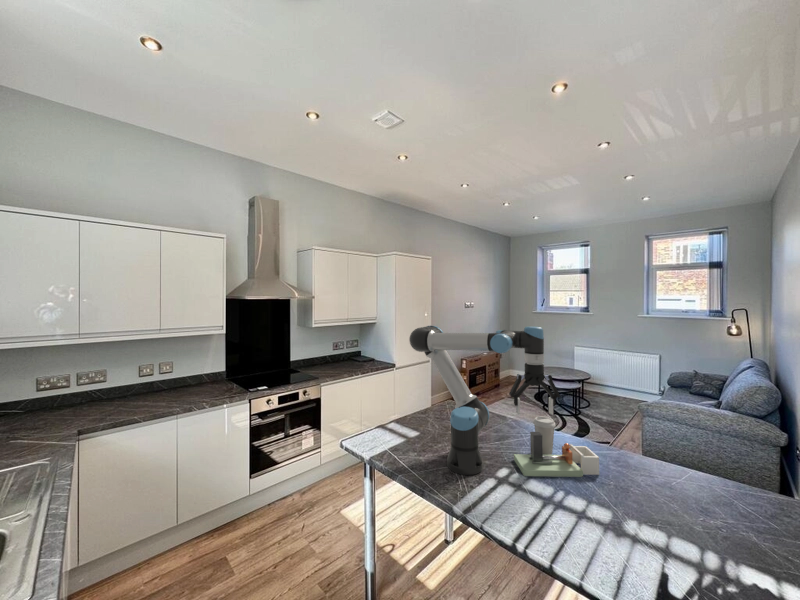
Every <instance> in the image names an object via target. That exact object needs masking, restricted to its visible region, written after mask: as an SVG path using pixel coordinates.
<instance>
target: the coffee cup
mask: <svg viewBox="0 0 800 600" xmlns="http://www.w3.org/2000/svg"><path fill="white" fill-rule="evenodd" d="M532 423H533V424H534V425H533V426H534V432H540V433H541V435H542V447H543V455H553V452H554V451H553V450H554V436H555V428H556V425H557V424H556V422H555V421H554V419H553V418H551V417H548V416H540V415H539V416H536V417H534V419H533V421H532Z"/></svg>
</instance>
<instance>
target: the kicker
mask: <svg viewBox="0 0 800 600" xmlns="http://www.w3.org/2000/svg"><path fill="white" fill-rule="evenodd" d="M529 433H530V435H529V436H530V437H529V438H530V441H529V442H530V444H529V445H530V454H531V457H532V459H533V460H534V461H543V460H548V461H566V462H567V463H568V464H573V462H572V452H571V451H570V444H569V443H567V442H565V443H564V444H563V445H562V446H561V455H562V456H543V455H544V454H543V447H542V435H541V433H540V432H535V431H530V432H529Z"/></svg>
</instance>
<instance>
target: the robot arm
mask: <svg viewBox="0 0 800 600" xmlns="http://www.w3.org/2000/svg"><path fill="white" fill-rule="evenodd" d="M523 328H524V329H523V330H507V329H497V330H496V331H495V332H491V333H490V332H488V333H487V332H485V333H484V332H444V331H443V330H442V329H441V328H440V327H438V326H436V325H426V326H422V327H417V328H415V329H414V330H412V332H411V333H410V335H409V344H410V347H411V348H412V349H413V350H414V351H416V352H419V353H420V352H421V353H424V354H425V356H426V358H429V359H431V360H432V362H433V363H432V364H434V366H435V368H436V369H437V371H438V373H439V375H440V376H441V379H442V380H443V382H444V384H445V385H446V388H447V389H448V391H449V394H451V396H452V398H453V400H454V402H455V406H454V409H453V410H452V411H451V412H450V418H449V422H450V449H449V452H448V455H447V457H446V465H447V468H448V469H449V470H450V471H452V472H453V473H456V474H459V475H462V476H463V475H464V476H472V475H476V474H479V473H481V472H482V471H483V468H484V460H483V457H482V455H481V452H480V449H479V433H481V431H482V430H483V429H484V428H485V427H486V426H487V424H488V422H489V420H490V410H489V408H488V406H487V405H486V404H485V403H484V402H483V401H480V400H479V397H478V396H477V395H476V394H472V392H471V390H470V389H469V387H468V385H467V384H466V382H465V380H464V378H463V377H462V375H461V373H460V371H459V369H458V368H457V366H456V364H455V363H454V361H453V360H452V357H451V356H450V354H449V352H448V351H471V352H472V351H475V352H477V351H479V352H493V353H494V352H495V353H498V354H504V353H507V352H509V351H510V350H511V349H524V374H520V373H517V374H516V378H515V381H514V383H513V386H512V387H511V389H510V391H509V393H508V394H509V395H510V397H511V398H513V405H514V406H515V412H516V413H517V415H521V398H520V396H521V395H522V393H524V392H525V391H526V389H527V388H528V387H530V386H531V387H534V386H537V387H538V386H541V387H542V389H544V391H545V392H546V393H547V394H548V395H549V397H548V413H549V414H550V415H551V416H552V415H554V407H556V400H557V398H561V395H560V393H559V391H558V389H557V386H556V385H555V383H554V381H553V375H551V374H549V373H547V374H544V373H545V365H544V363H545V362H544V361H545V357H544V356H545V355H544V354H545V353H544V352H545V349H544V347H545V337H544V329H543V327H540V326H531V325H529V326H525V327H523ZM523 379H524V381H523ZM545 379H546V381H547V383H548V384H549V386H550V388H551V389H550V388H549V387H548V386H547V385H546V383H545V382H544V381H545ZM522 381H523V382H522ZM521 382H522V385H520V384H521Z"/></svg>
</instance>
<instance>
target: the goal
mask: <svg viewBox="0 0 800 600" xmlns="http://www.w3.org/2000/svg"><path fill="white" fill-rule="evenodd" d="M569 445H570V449H569V450H570V451H571V452H572V460H573V461H574V462H575V463H576V464H580V468H581V469H582V470H583V476H584V475H586V476H587V475H588V476H589V475H590V476H594V475H595V476H600V457H599V456H598V455H597V454H596V453H595V452H594V451H592V450H591V449H590V448H589V447H587V446H586V445H585V446H584V445H581V446H580V445H579V446H578V445H577V446H575V445H573V443H570V444H569Z"/></svg>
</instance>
